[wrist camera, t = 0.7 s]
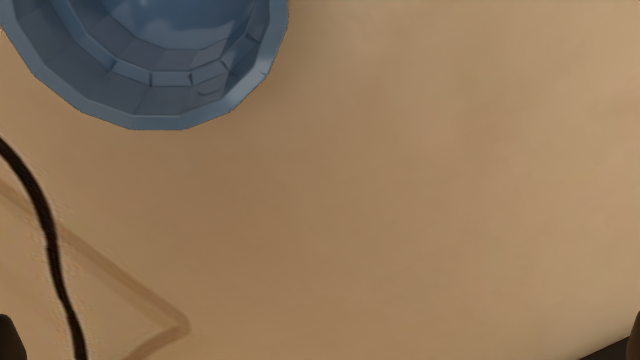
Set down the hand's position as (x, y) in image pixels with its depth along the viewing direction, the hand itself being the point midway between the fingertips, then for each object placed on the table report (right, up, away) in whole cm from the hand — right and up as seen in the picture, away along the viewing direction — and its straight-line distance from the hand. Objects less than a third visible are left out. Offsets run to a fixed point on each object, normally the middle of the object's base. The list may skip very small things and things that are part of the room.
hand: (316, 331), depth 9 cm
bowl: (-4, +9, +10) cm, 14 cm away
